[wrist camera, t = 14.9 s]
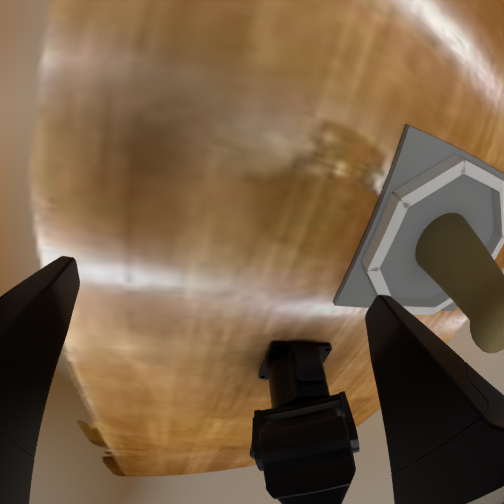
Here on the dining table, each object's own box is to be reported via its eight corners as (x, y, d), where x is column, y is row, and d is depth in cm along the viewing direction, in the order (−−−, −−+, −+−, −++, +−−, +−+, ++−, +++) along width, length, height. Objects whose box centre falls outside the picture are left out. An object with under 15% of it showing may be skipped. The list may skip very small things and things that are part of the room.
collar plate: (451, 307, 29) (458, 318, 27) (333, 301, 26) (338, 315, 25) (519, 184, 20) (530, 192, 18) (405, 124, 17) (418, 130, 16)
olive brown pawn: (477, 229, 22) (548, 312, 13) (439, 277, 25) (495, 367, 16) (445, 200, 20) (533, 293, 11) (402, 257, 23) (466, 363, 14)
